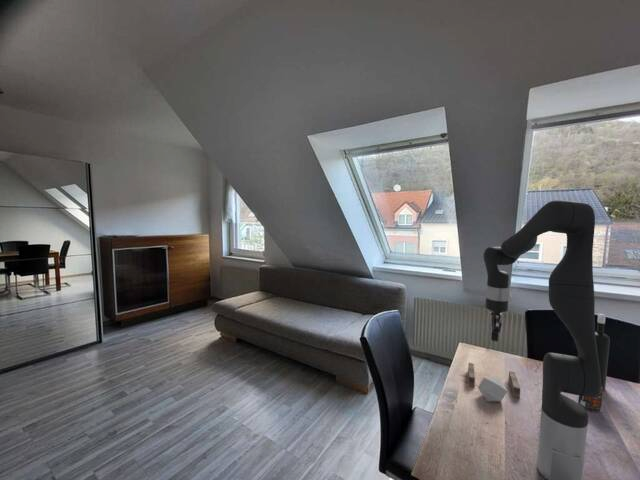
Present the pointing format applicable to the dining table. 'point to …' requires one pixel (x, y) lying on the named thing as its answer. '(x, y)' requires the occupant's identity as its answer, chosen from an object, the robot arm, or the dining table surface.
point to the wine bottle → (602, 348)
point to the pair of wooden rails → (512, 380)
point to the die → (492, 389)
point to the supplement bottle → (591, 402)
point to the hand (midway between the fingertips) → (494, 340)
